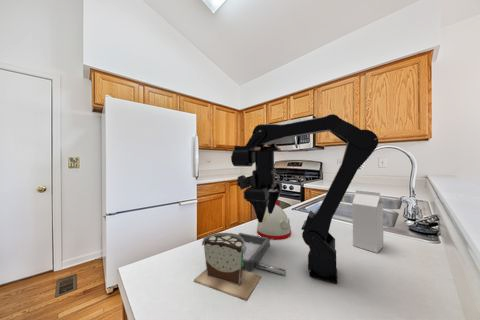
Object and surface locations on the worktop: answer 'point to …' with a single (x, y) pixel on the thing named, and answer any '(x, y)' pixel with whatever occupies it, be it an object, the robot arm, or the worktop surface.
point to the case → (259, 252)
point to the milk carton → (368, 221)
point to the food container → (224, 256)
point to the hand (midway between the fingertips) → (265, 217)
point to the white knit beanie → (275, 224)
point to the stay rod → (269, 268)
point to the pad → (241, 291)
